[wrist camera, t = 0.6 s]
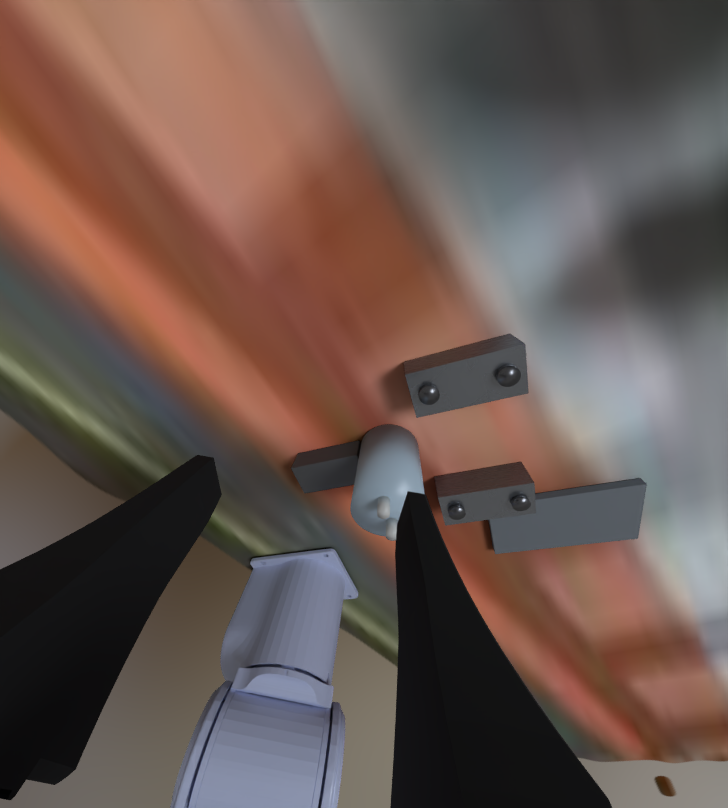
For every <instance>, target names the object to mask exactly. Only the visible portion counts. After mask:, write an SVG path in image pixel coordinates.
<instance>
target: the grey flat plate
mask: <svg viewBox="0 0 728 808" xmlns="http://www.w3.org/2000/svg"><path fill="white" fill-rule="evenodd" d="M646 486H647V484H646V483H645V482H644V481H643V480H642V479H641V478H639V479H632V480H625V481H618V482H612V483H605V484H598V485H591V486H585V487H578V488H571V489H564V490H557V491H551V492H544V493H537V494H535V502H536V513H534V514H527V515H519V516H512V517H504V518H497V519H489V526H490V532H491V538H492V543H493V549H494V551H495V554H499V553H508V552H517V551H527V550H536V549H545V548H554V547H564V546H573V545H582V544H591V543H601V542H610V541H619V540H628V539H638V535H639V528H640V522H641V516H642V510H643V504H644V498H645V492H646Z"/></svg>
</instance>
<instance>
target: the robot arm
mask: <svg viewBox="0 0 728 808" xmlns="http://www.w3.org/2000/svg"><path fill="white" fill-rule="evenodd" d="M221 495H222V494H221V490H220V485H219V480H218V476H217V471H216V467H215V462H214V458H212V457H206V456H200V455H197V456H195V457H194V458H192V459H191V460H189V461H187V462H186V463H184V464H183V465H181V466H180V467H178V468H177V469H175V470H174V471H173V472H171V473H170V474H168V475H167V476H165V477H164V478H162V479H161V480H159V481H158V482H156V483H154V484H153V485H151V486H150V487H148V488H147V489H145V490H144V491H142V492H141V493H139V494H138V495H136V496H134V497H133V498H131V499H130V500H128V501H126V502H125V503H123V504H121V505H120V506H118V507H116V508H115V509H113V510H112V511H110V512H108V513H107V514H105V515H103V516H102V517H100V518H98V519H97V520H95V521H94V522H92V523H90V524H88V525H86V526H85V527H83V528H81V529H79V530H77V531H76V532H74V533H72V534H70V535H69V536H66V537H64V538H63V539H61V540H59V541H57V542H55V543H53V544H51V545H49V546H47V547H46V548H44V549H42V550H40V551H38V552H36V553H34V554H32V555H29V556H27V557H25V558H23V559H21V560H19V561H17V562H15V563H13V564H11V565H9V566H7V567H5V568H3V569H0V798H1V799H6V800H11V799H12V798H13V797H15V795H16V794H17V792H18V791H19V789H20V788H21V786H22V785H23V783H24V782H25V780H26V779H27V780H32V781H37V782H43V783H48V784H53V785H55V784H57V783H59V782H60V781H62V780H63V779H64V778H66V777H67V776H68V775H70V774H71V773H72V772H73V771H74V770H75V769H76V767H77V765H78V763H79V760H80V758H81V756H82V753H83V751H84V749H85V747H86V744H87V742H88V740H89V738H90V735H91V733H92V731H93V729H94V727H95V725H96V722H97V720H98V718H99V716H100V713H101V711H102V709H103V707H104V705H105V703H106V701H107V699H108V696H109V695H110V692H111V690H112V688H113V686H114V684H115V682H116V680H117V678H118V676H119V674H120V672H121V670H122V668H123V665H124V664H125V661H126V659H127V658H128V656H129V654H130V652H131V650H132V648H133V646H134V644H135V642H136V640H137V638H138V636H139V634H140V633H141V631H142V629H143V627H144V625H145V623H146V621H147V619H148V618H149V616H150V614H151V612H152V610H153V608H154V606H155V605H156V603H157V601H158V599H159V597H160V596H161V594H162V592H163V591H164V589H165V587H166V586H167V584H168V582H169V581H170V579H171V578H172V576H173V575H174V573H175V572H176V570H177V569H178V567H179V566H180V564H181V563H182V561H183V560H184V558H185V557H186V555H187V553H188V552H189V551H190V549H191V547H192V546H193V544H194V543H195V541H196V540H197V538H198V537H199V535H200V534H201V532H202V531H203V529H204V527H205V526H206V524H207V523H208V521H209V519H210V517H211V515H212V513H213V511H214V509H215V507H216V505H217V503H218V501H219V499H220V497H221ZM395 559H396V582H397V604H398V630H399V644H398V676H397V700H396V701H397V702H396V724H395V742H394V761H393V777H392V778H393V779H392V794H391V808H612V806H611V804H610V802H609V800H608V798H607V797H606V795H605V794H604V792H603V791H602V790H601V789H600V787H599V786H598V785H597V783H596V782H595V781H594V780H593V778H592V777H591V775H590V774H589V773H588V772H587V770H586V769H585V768H584V766H583V765H582V764H581V762H580V761H579V760H578V758H577V757H576V756H575V754H574V753H573V752H572V750H571V749H570V748H569V746H568V745H567V744H566V742H565V741H564V739H563V738H562V737H561V735H560V734H559V733H558V731H557V730H556V729H555V727H554V726H553V724H552V723H551V721H550V720H549V719H548V717H547V716H546V714H545V713H544V712H543V710H542V709H541V707H540V706H539V705H538V703H537V702H536V700H535V699H534V698H533V696H532V695H531V693H530V692H529V690H528V689H527V687H526V686H525V684H524V683H523V681H522V680H521V678H520V677H519V675H518V673H517V672H516V670H515V669H514V667H513V666H512V664H511V663H510V661H509V660H508V658H507V657H506V655H505V654H504V652H503V651H502V649H501V648H500V646H499V644H498V643H497V641H496V639H495V638H494V636H493V635H492V633H491V631H490V630H489V628H488V626H487V625H486V623H485V621H484V619H483V618H482V616H481V614H480V613H479V611H478V609H477V607H476V606H475V604H474V602H473V600H472V598H471V596H470V594H469V593H468V591H467V589H466V587H465V585H464V583H463V581H462V579H461V577H460V575H459V573H458V571H457V569H456V567H455V565H454V563H453V561H452V559H451V556H450V554H449V552H448V550H447V548H446V545H445V543H444V541H443V539H442V536H441V534H440V531H439V529H438V526H437V524H436V522H435V519H434V516H433V514H432V511H431V508H430V505H429V502H428V499H427V497H426V495H425V494H422V493H416V492H410V491H408V492H407V495H406V498H405V501H404V505H403V508H402V511H401V514H400V517H399V520H398V523H397V532H396V550H395ZM250 564H251V566H252V567H253V570H252V573H251V575H250V577H249V580H248V582H247V584H246V586H245V589H244V591H243V593H242V596H241V598H240V600H239V602H238V605H237V607H236V609H235V611H234V614H233V616H232V618H231V620H230V623H229V625H228V627H227V630H226V633H225V636H224V640H223V644H222V650H221V670H222V673H223V676H224V678H225V680H226V681H225V682H224V683H223V684H222V685H221V686H220V687H219V688H218V689H217V690H215V692H214V693H213V694H212V696H211V697H210V699H209V700H208V702H207V704H206V706H205V708H204V710H203V712H202V714H201V716H200V719H199V721H198V723H197V725H196V728H195V730H194V732H193V735H192V737H191V740H190V743H189V745H188V748H187V751H186V753H185V756H184V759H183V762H182V764H181V768H180V771H179V774H178V777H177V780H176V784H175V788H174V792H173V796H172V803H171V806H170V808H337V804H338V797H339V790H340V782H341V773H342V764H343V754H344V741H345V716H344V714H343V712H342V710H341V706H340V704H339V703H338V702H332V696H333V689H334V687H333V686H332V685H331V682H332V675H333V668H334V661H335V654H336V647H337V640H338V633H339V626H340V619H341V612H342V605H343V599H354V598H357V597H358V591H357V589H356V587H355V586H354V584H353V582H352V580H351V578H350V576H349V574H348V573H347V571H346V569H345V567H344V565H343V563H342V562H341V560H340V558H339V556H338V554H337V552H336V551H335V550H334V549H332V548H329V549H321V550H314V551H306V552H298V553H290V554H282V555H274V556H267V557H259V558H253V559H252V560H251V562H250Z"/></svg>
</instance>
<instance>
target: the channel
mask: <svg viewBox="0 0 728 808" xmlns="http://www.w3.org/2000/svg"><path fill="white" fill-rule="evenodd" d="M404 369H405V376H406V380H407V384H408V388H409V391H410V395H411V399H412V402H413V406H414V410H415V414H416V417H417V418H418V417H422V416H427V415H431V414H436V413H440V412H445V411H450V410H454V409H459V408H463V407H468V406H472V405H477V404H481V403H486V402H491V401H495V400H500V399H504V398H509V397H513V396H518V395H522V394H527V393H528V380H527V364H526V349H525V344H524V343H523V342H522V341H520V340H519V339H517V338H516V337H514V336H513V335H511V334H507V335H503V336H499V337H495V338H492V339H488V340H484V341H480V342H477V343H473V344H469V345H465V346H462V347H458V348H454V349H450V350H447V351H443V352H439V353H435V354H431V355H428V356H424V357H420V358H416V359H413V360H409V361H405V362H404ZM434 478H435V484H436V489H437V495H438V499H439V503H440V507H441V510H442V514H443V518H444V522H445V525H452V524H459V523H467V522H474V521H482V520H489V519H497V518H504V517H512V516H519V515H527V514H534V513H536V502H535V487H534V482H533V480H532V478H531V477H530V475H529V473H528V472H527V470H526V469H525V467H524V465H523V464H522V462H517V463H512V464H506V465H500V466H494V467H488V468H482V469H477V470H471V471H465V472H459V473H453V474H448V475H442V476H436V477H434Z"/></svg>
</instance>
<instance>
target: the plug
mask: <svg viewBox="0 0 728 808" xmlns="http://www.w3.org/2000/svg"><path fill="white" fill-rule="evenodd" d="M291 469H292V471H293V473H294V475H295V477H296V478H297V480H298V482H299V484H300V486H301V488H302V490H303V491H304V493H310V492H316V491H321V490H327V489H332V488H338V487H344V486H349V485H354V489H353V495H352V501H351V514H352V517H353V518H354V520H355V521H356V523H357V524H358V525H359V526H361V527H362V528H363V529H365V530H366V531H368V532H371V533H373V534H376V535H380V536H386V538H387V539H388V540H391V541H394V540H396V532H397V523H398V520H399V517H400V514H401V511H402V508H403V505H404V501H405V498H406V495H407V492H408V491H410V492H416V493H422V494H424V486H423V479H422V471H421V464H420V456H419V448H418V443H417V440H416V438H415V437H414V435H413V434H412V433H411V432H410V431H408V430H407V429H405V428H403V427H401V426H398V425H392V424H386V425H380V426H377V427H374V428H373V429H371V430H370V431H368V432H367V433H366V434H365V436H364V437H363V439H362V442H361V443H360V441H354V442H349V443H345V444H340V445H335V446H331V447H326V448H321V449H316V450H312V451H307V452H302V453H298V455H297V457H296V459H295V461H294V463H293V465H292V467H291Z"/></svg>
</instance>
